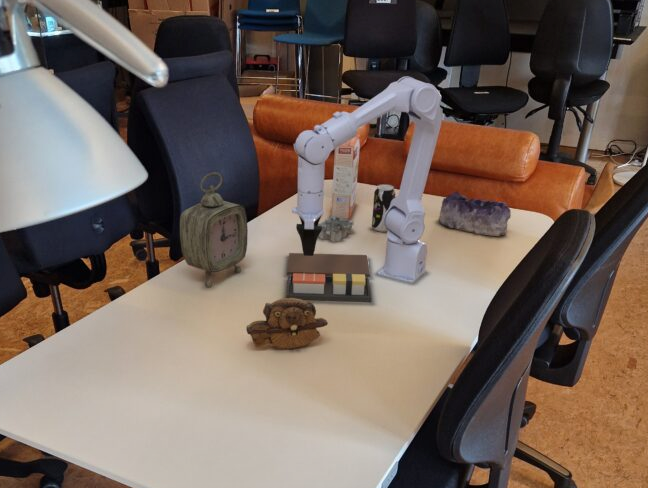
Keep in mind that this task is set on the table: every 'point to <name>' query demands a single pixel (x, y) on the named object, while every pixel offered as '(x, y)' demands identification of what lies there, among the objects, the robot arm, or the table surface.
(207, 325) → the table surface
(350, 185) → the cracker box
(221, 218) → the tabletop clock
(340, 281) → the tamago nigiri
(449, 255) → the table surface
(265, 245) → the table surface
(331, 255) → the serving board
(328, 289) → the sushi tray
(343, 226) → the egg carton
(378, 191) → the beverage can
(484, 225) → the geode
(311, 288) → the salmon nigiri
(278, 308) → the wooden carving
